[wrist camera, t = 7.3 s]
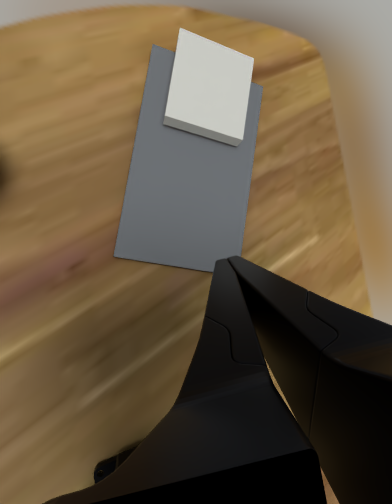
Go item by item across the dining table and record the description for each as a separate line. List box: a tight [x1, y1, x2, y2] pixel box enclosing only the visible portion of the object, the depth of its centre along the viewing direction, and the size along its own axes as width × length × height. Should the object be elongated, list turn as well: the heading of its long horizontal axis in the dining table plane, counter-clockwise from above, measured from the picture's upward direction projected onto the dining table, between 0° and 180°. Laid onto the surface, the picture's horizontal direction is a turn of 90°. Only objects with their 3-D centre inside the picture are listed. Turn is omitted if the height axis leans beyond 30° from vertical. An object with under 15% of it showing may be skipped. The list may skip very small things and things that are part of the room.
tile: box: [163, 28, 254, 146], centre depth 21 cm, size 2×7×8 cm
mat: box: [114, 44, 263, 272], centre depth 22 cm, size 19×11×1 cm, turn 171°
